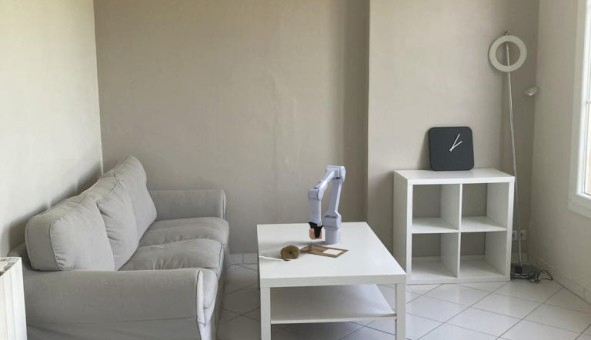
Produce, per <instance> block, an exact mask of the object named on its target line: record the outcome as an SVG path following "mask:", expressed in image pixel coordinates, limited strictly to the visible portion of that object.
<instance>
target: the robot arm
mask: <svg viewBox="0 0 591 340" xmlns="http://www.w3.org/2000/svg"><path fill="white" fill-rule="evenodd" d="M346 172H347V171H346V168H345V166H343V165H330V164H328V165H327V166H326V168H325V174H324V175H323V177H322V179H319V180H318V181H317V183H316V184H315V185H314V187H313V188H311V189H309V190H308V192H307V198H308V202H309V219H307V221H308V222H307V224H308V225H309V227H310V228H309V229H314V234H315V238H319V237H320V233H321V230H322V229H324V244H327V245H337V244H342V243H343V241H341V229H340V228H341V226H342V215H341V214H340V213H339V212H338V210H339V204H340V196H341V191H342V185H343V183H344V182H345V178H346ZM329 182H332V187H331V193H330V198H329V204H328V205H329V206H328V210H327V211H325V212H324V213H323V216H322V201H321V200H322V199H323V197H324V192H325V191H326V190H327V189H328V184H329Z"/></svg>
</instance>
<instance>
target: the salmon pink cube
mask: <svg viewBox="0 0 591 340" xmlns="http://www.w3.org/2000/svg"><path fill="white" fill-rule="evenodd" d="M308 234H309V235H308V237H309V238H310V239H311V240H314V241H315V240H322V239H323V231H322V229H321V233H320V237H319V238H315V234H314V229H311V228H309V229H308Z"/></svg>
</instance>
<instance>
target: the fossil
mask: <svg viewBox="0 0 591 340" xmlns="http://www.w3.org/2000/svg"><path fill="white" fill-rule="evenodd" d="M299 249H300V248H299V247H298V246H296V245H292V244H289V245H286V246H283V247H282V248H281V249H280V256H281V259H282V260H283V261H284V262H290V261H291V260H296V259H298V258H299V256H300V254H301V253H300V250H299Z"/></svg>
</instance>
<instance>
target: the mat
mask: <svg viewBox="0 0 591 340" xmlns="http://www.w3.org/2000/svg"><path fill="white" fill-rule="evenodd" d="M341 252H343V251H340V250H333V249H328V250H326V251H324V252H323V253H324V254H330V255H337V254H339V253H341Z"/></svg>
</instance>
